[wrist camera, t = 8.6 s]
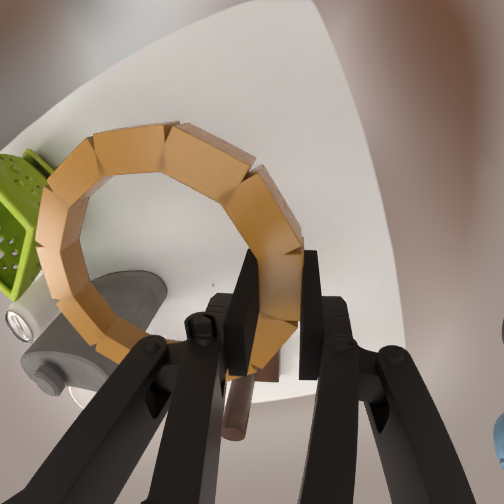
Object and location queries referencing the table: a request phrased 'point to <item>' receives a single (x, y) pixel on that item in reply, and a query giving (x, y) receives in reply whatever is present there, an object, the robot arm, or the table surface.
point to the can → (32, 312)
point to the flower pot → (20, 219)
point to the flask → (77, 349)
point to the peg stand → (245, 399)
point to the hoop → (196, 177)
